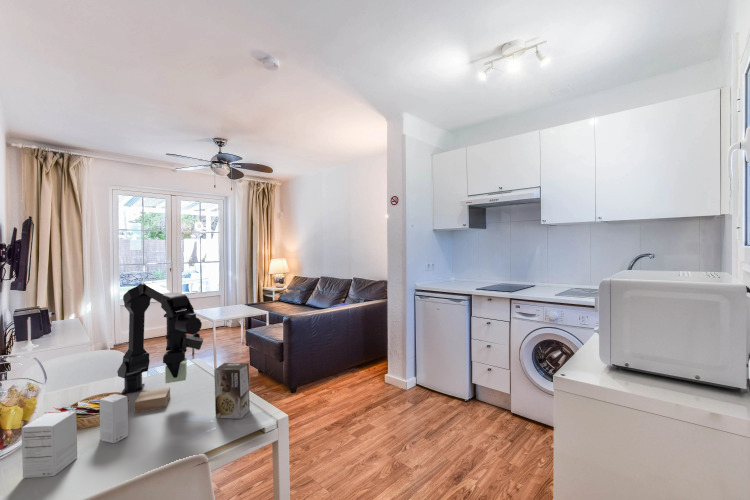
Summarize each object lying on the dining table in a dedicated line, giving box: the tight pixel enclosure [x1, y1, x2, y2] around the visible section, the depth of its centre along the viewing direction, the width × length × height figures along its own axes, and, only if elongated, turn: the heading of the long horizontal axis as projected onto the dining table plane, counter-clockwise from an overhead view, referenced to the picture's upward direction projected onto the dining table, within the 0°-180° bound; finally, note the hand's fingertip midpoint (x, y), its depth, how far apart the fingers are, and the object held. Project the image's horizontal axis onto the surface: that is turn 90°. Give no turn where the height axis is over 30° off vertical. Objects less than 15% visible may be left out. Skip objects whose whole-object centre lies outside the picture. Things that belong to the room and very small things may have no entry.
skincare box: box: [99, 393, 129, 444], centre depth 97 cm, size 6×4×12 cm
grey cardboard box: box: [213, 362, 251, 420], centre depth 110 cm, size 9×6×16 cm
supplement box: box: [21, 411, 78, 479], centre depth 84 cm, size 7×7×13 cm
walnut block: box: [133, 386, 171, 414], centre depth 118 cm, size 9×9×4 cm
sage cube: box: [164, 357, 188, 384], centre depth 117 cm, size 6×6×6 cm
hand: (176, 374), depth 117 cm, fingers closed on sage cube, 6 cm apart
